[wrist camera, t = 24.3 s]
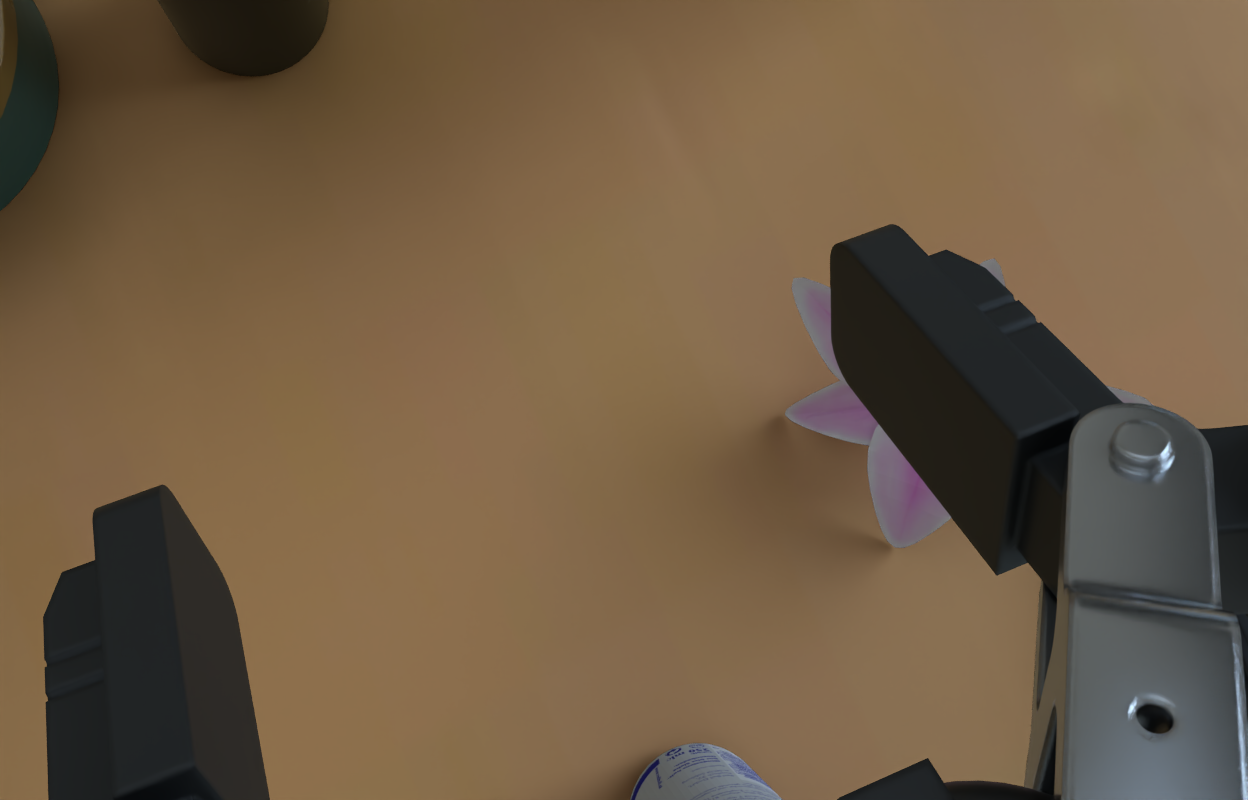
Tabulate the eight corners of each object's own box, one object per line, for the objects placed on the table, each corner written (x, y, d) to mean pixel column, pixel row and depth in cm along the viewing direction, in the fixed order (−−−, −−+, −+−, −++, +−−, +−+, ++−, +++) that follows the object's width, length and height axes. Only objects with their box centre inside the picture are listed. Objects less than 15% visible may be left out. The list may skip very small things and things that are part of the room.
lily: (742, 249, 46) (733, 330, 38) (1049, 157, 44) (1117, 222, 35) (824, 511, 50) (833, 639, 42) (1110, 442, 48) (1185, 564, 39)
